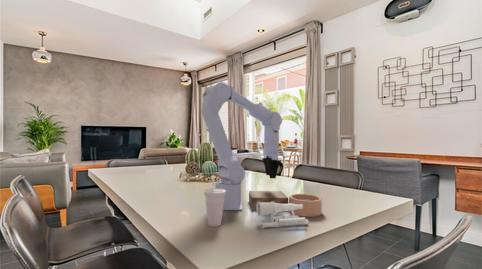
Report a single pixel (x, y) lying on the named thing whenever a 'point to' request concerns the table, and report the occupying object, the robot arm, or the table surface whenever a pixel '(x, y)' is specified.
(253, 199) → the board
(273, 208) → the white joined tubes piece
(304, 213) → the bowl
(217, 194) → the smoothie
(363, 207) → the table surface
